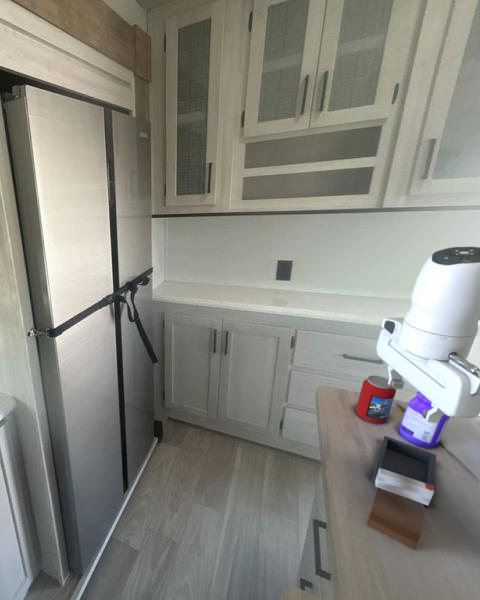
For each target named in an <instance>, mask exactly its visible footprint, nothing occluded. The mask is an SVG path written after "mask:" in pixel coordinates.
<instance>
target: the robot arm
mask: <svg viewBox="0 0 480 600" xmlns="http://www.w3.org/2000/svg"><path fill="white" fill-rule="evenodd" d="M479 321H480V246H452V247H447V248H444V249H439V250H437V251H434V252H433V253H431V254H430V255H429V256H428V258H427V259H426V260H425V262H424V264H423V265H422V267H421V268H420V270H419V273H418V275H417V277H416V280H415V283H414V285H413V288H412V291H411V294H410V307H409V310H408V311H407V312H406V313H405V316H404V317H384V318H383V319H382V321H381V327H382V329H381V330H380V331H379V335H378V339H377V342H376V347H375V349H376V354H377V356H378V357H379V358H380V359H382V360H383V361H384V362H385V363H386V364H387V373H388V379H389V382H388V384H389V385H390V386H391V387H392V388H393V389H396V390H402V389H404V385H405V381H407V383H409V384H410V385H411V386H412V387H414V388H415V389H416V390H417V392H418V391H420V392H421V393H422V394H423V395H424V396H425V397H426V398H428V399H429V400H430V401H431V402H432V403H431V406H432V407H433V408H432V409H431V410H429V409H424V410H423V414H422V416H423V417H424V418H425V419H426V420H427V421H428V422H430V423H438V422H439V421H440V419H441V417H442V416H443V415H445V414H446V415H447V416H450V418H457V419H458V418H459V419H473V418H477V417H478V416H479V415H480V368H479V366H477V365H475V364H473V363H471V362H469V361H468V360H467V358H468V356H469V354H470V352H471V349H472V346H473V344H474V342H475V340H476V337H477V336H478V332H479ZM403 379H405V381H404V380H403Z"/></svg>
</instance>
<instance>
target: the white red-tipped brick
mask: <svg viewBox="0 0 480 600" xmlns="http://www.w3.org/2000/svg"><path fill="white" fill-rule="evenodd" d="M374 486H375V488H376V487H378V488H381V489H384V490H386V491H389V492H392V493H395V494H397V495H400V496H403V497H406V498H408V499H411V500H414V501H417V502H419V503H422V504H425V505H428V506H430V503H431V501H432V498H433V496H434V494H435V488H434V485H433V486H432V485H431V484H428V483H423V482H420V481H417V480H414V479H411V478H408V477H405V476H402V475H399V474H397V473H394V472H391V471H388V470H385V469H382V468H379V471H378V474H377V477H376V480H375V484H374Z"/></svg>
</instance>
